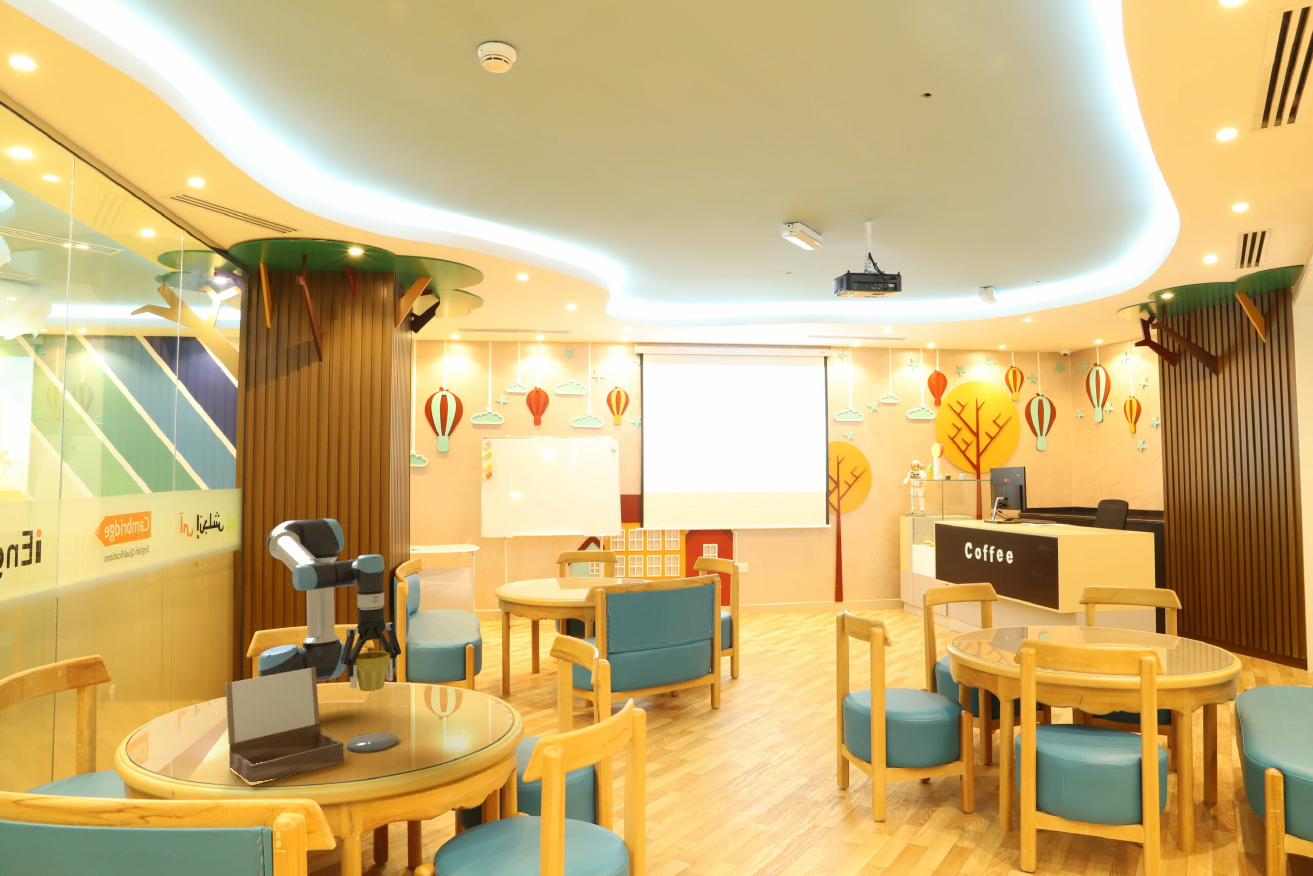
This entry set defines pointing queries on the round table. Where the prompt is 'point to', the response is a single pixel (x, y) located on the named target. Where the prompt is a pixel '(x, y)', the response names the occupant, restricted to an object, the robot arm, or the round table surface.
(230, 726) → the lid
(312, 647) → the robot arm
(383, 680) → the plant pot
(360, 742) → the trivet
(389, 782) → the round table surface
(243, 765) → the cold frame
